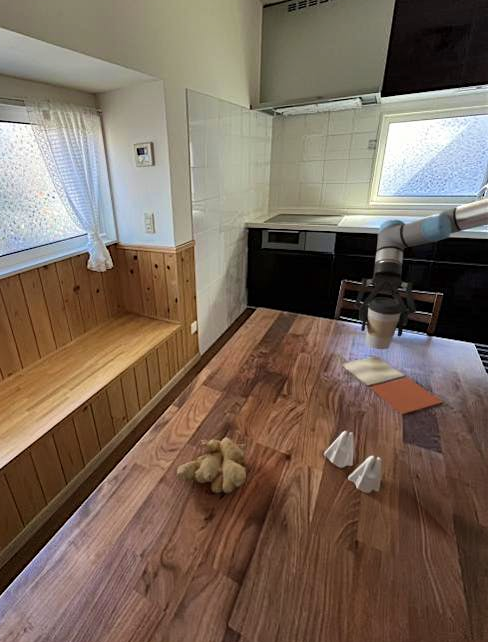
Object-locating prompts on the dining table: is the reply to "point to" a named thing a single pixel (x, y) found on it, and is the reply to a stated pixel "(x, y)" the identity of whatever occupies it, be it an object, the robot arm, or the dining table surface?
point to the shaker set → (342, 456)
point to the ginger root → (217, 466)
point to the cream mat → (372, 370)
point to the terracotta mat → (406, 395)
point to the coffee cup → (382, 322)
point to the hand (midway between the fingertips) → (381, 332)
